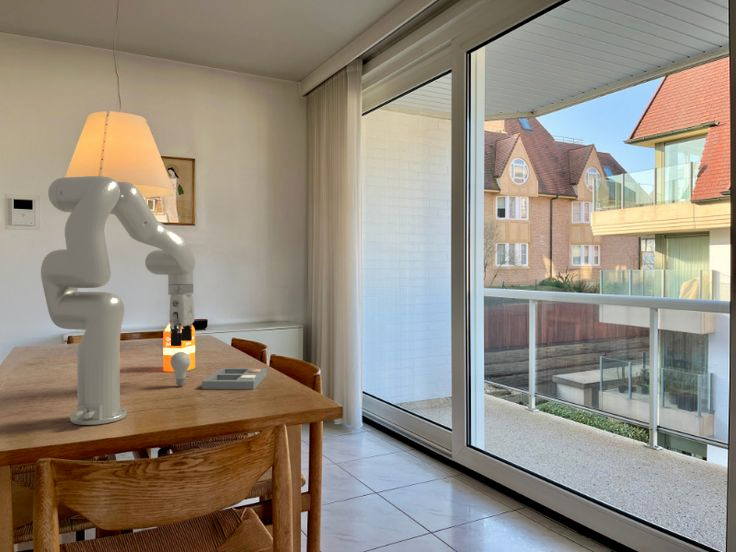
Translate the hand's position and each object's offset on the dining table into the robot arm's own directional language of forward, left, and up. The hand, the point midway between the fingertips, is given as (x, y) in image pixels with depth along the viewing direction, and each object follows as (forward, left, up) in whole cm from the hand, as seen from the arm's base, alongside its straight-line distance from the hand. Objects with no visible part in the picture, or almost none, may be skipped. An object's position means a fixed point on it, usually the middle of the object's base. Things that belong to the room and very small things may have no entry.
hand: (181, 343), depth 170 cm
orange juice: (+27, +10, -14) cm, 32 cm away
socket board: (+6, -16, -14) cm, 22 cm away
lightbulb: (-1, 0, -14) cm, 14 cm away
